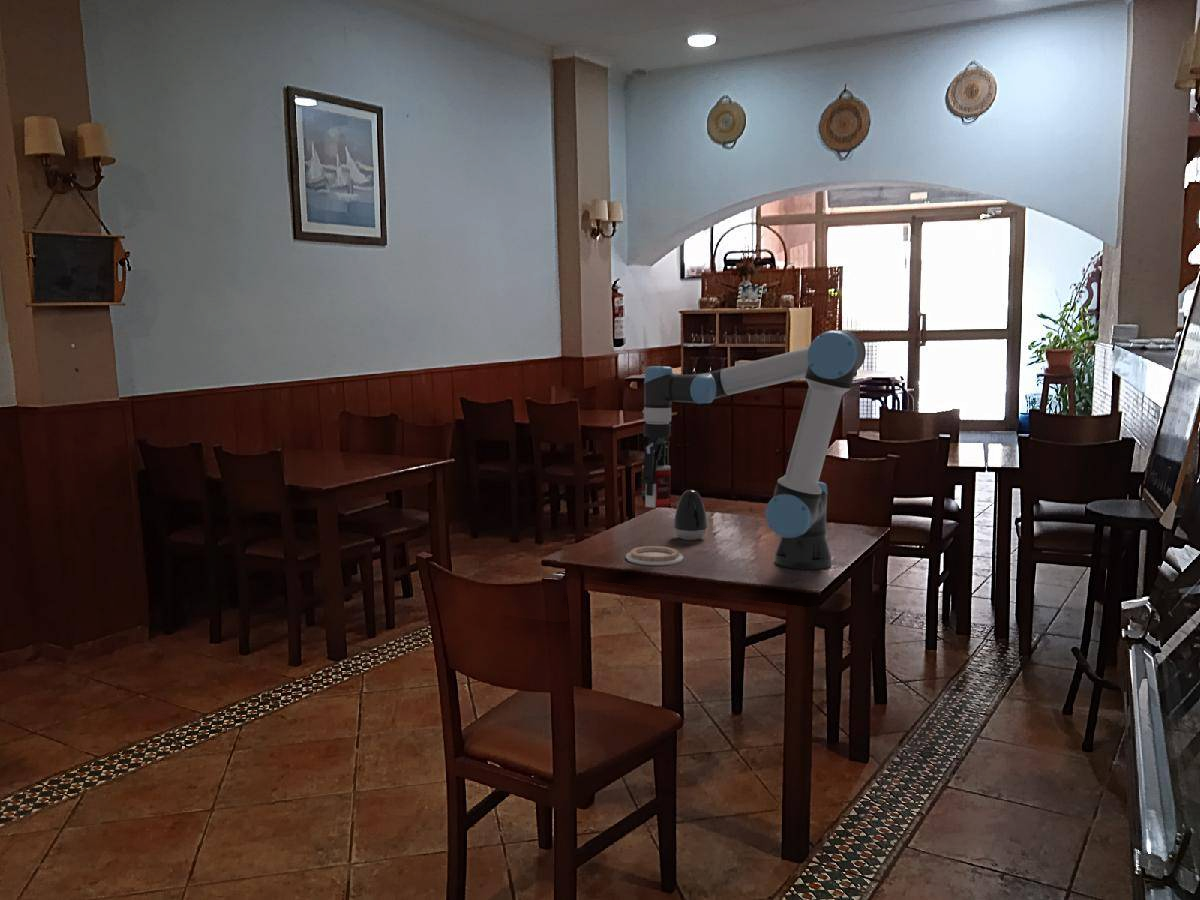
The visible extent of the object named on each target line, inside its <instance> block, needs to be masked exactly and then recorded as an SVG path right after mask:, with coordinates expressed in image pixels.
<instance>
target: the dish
mask: <svg viewBox="0 0 1200 900" xmlns="http://www.w3.org/2000/svg"><path fill="white" fill-rule="evenodd" d="M625 559H627V560H626V561H628V562H630V563H633V564H636V565H641V566H642V565H643V566H656V567H657V566H658V567H659V566H670V565H677V564H679V563H682V562H683V561H684V555H683V554H682V553H680V552H679V551H678V549H676V548H671V547H668V546H659V545H658V546H657V545H655V546H653V545H651V546H650V545H649V546H640V547H634V548H633V549H631V550H630V551H629V552H627V553H626V554H625Z"/></svg>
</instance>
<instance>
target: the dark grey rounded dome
mask: <svg viewBox="0 0 1200 900" xmlns="http://www.w3.org/2000/svg"><path fill="white" fill-rule="evenodd" d="M673 528H674V531H675V534H676V535H677V536H678V537H679V539H681V540H685V541H697V539H698V540H700V539H701V538H703V536H704V535H705V534H706V530H707V528H708V520H707V514H706V509H705V505H704V502H703V499H702V497H701V495H700V493H699V492H698V491H697V490H694V489H687V490H685V491H684V492H683V493H682V495H681V496H680V497H679V501H678V503H677V507H676V511H675V513H674V519H673Z"/></svg>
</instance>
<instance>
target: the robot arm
mask: <svg viewBox="0 0 1200 900" xmlns="http://www.w3.org/2000/svg"><path fill="white" fill-rule="evenodd" d="M866 357H867V349H866V346H865V342H864V340H862V338H861V337H860V336H859V335H857V334H856V333H854V332H852V331H850V330H837V329H831V330H830V329H829V330H827V331H824V332H821V334H819V335H817V336H816V337H815V338H814V339H813V340H812V341H811V343H810V345H809V346H808V347H804V348H800V349H797V350H793V351H787V352H785V353H781V354H777V355H773V356H770V357H766V358H765V357H764V358H760V359H757V360H753V361H749V362H745V363H741V364H738V365H734V366H729V367H726V368H725V367H724V368H722V369H717V370H714V371H709V372H705V373H698V374H697V373H695V374H678V373H677V374H675V373H673V368H672V367H671V366H665V365H663V366H661V365H659V366H658V365H656V366H655V365H653V366H647V367H646V368H645V370H644V371H645V372H644V380H643V385H644V386H643V390H644V392H643V393H644V394H643V395H644V396H643V397H644V399H643V402H644V403H643V409H642V413H643V421H644V422H645V423H643V437H645V438H648V439H649V440H648V443H647V445H644V446H643V449H644V451H643V453H644V456H643V457H644V458H643V465H644V468H643V481H642V480H641V484H642V483H646V497H645V506H644V507H646V508H654V509H655V507H656V484H654V483H655V477H656V468H657V465H668V466H670V457H669V453H670V452H669V451H670V450H669V448H670V447H669V446H670V442H669V441H666V439H667V438H670V437H671V435H672V433H671V432H672V424H671V422H672V403H689V404H690V403H691V404H698V405H701V404H711V403H712V402H713V401H714V400H716V399H719V398H722V397H727V396H731V395H734V394H738V393H739V394H740V393H743V392H748V391H751V390H756V389H760V388H765V387H769V386H774V385H779V384H781V383H787V382H790V381H794V380H799V379H803V378H804V379H805V381H806V382H807V384H808V388H807V393H806V396H805V400H804V404H803V407H802V412H801V415H800V419H799V421H798V422H799V423H798V426H797V430H796V433H795V438H794V441H793V445H792V447H791V452H790V456H789V460H788V464H787V467H786V471H785V474H784V475H783V476H781V477H780V478H778V479H777V482H776V485H775V488H774V492H773V497H772V498H771V499H770V500H769V501H768V504H767V505H766V508H765V512H764V513H765V515H764V516H765V520H766V523H767V525H768V527H769V528H770V530H771V531H772V532H773V533H774V534H776V535H777V536H779V537H780V539H779V542H778V545H777V548H776V551H775V553H774V563H776V564H777V565H778V566H782V567H784V568H788V569H796V570H822V569H826V568H829V567H831V565H832V554H831V552H830V551H831V550H830V549H829V548H830V547H829V544H828V541H827V538H826V533H827V532H826V531H827V529H826V528H827V510H828V509H827V506H828V503H827V502H828V493H829V492H828V486H827V484H826V483H825V482H823V481H820V477H821V474H822V470H823V467H824V462H825V459H826V456H827V452H828V450H829V445H830V441H831V438H832V434H833V430H834V428H835V424H836V420H837V416H838V412H839V409H840V405H841V401H842V399H843V398H842V397H843V396H844V394H845V393H847V392H849V391H850V390H852V385H853V382H854V378H855V375H856V372H857V371H859V369H860V368H861V367H862V366H863V364H864V362H865V360H866Z"/></svg>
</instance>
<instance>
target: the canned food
mask: <svg viewBox="0 0 1200 900" xmlns="http://www.w3.org/2000/svg"><path fill="white" fill-rule="evenodd" d="M641 467H642V468H641V500H640V501H641V505H642V506H643V507H645V497H646V483H642V481H643V468H644V464H643V465H642V466H641ZM671 468H672V467H671V465H669V466H668V465H657V468H656V477H655V483H654V484H656V507H655V508H667V507H669V506H670V503H671V478H672V477H671V474H672V473H671V472H672V471H671V470H672V469H671ZM655 508H654V509H655Z"/></svg>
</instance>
